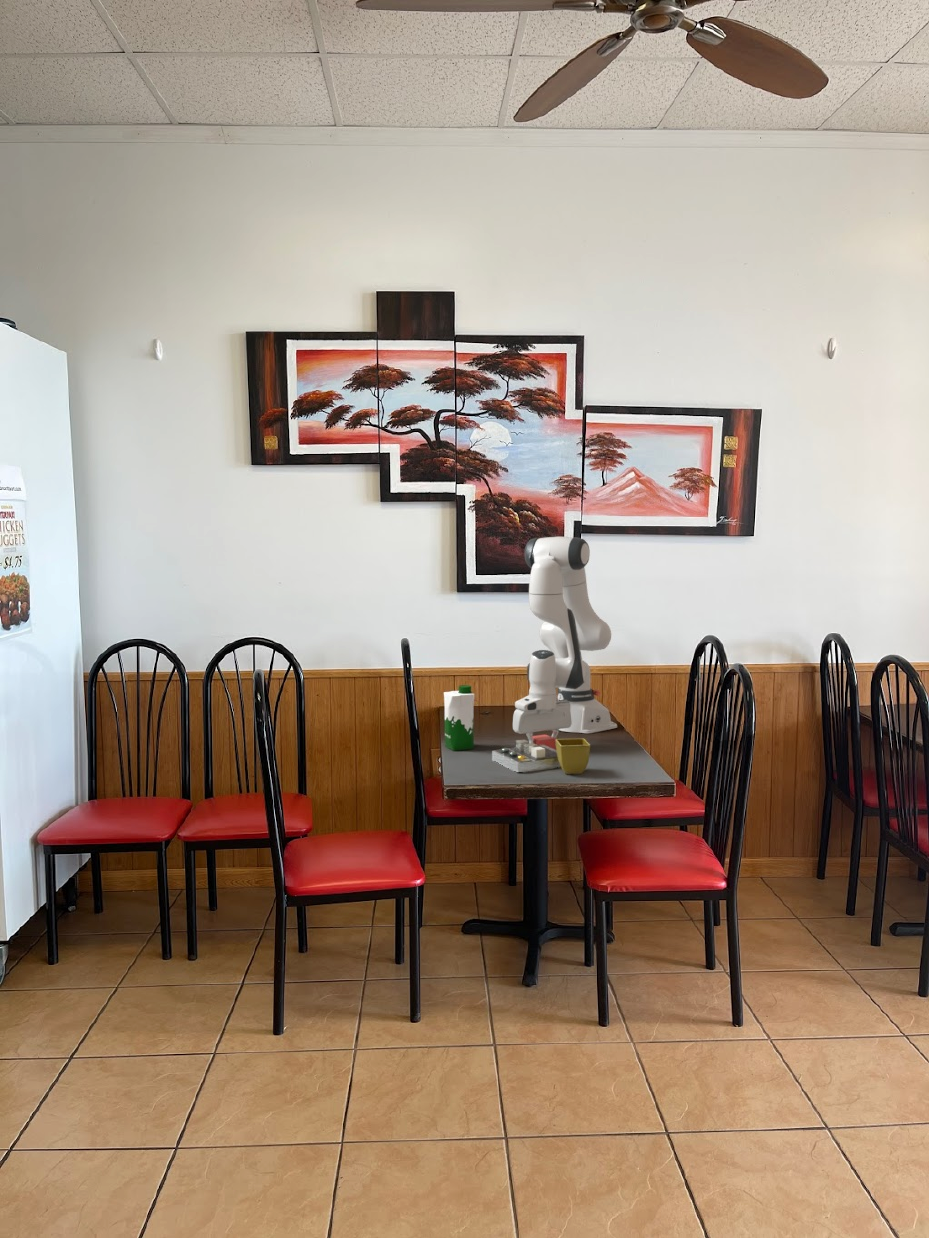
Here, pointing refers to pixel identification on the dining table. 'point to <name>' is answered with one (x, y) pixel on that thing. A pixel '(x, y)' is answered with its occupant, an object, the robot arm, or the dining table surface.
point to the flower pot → (573, 755)
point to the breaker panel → (525, 757)
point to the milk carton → (459, 719)
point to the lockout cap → (545, 740)
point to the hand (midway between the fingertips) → (542, 744)
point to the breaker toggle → (538, 752)
